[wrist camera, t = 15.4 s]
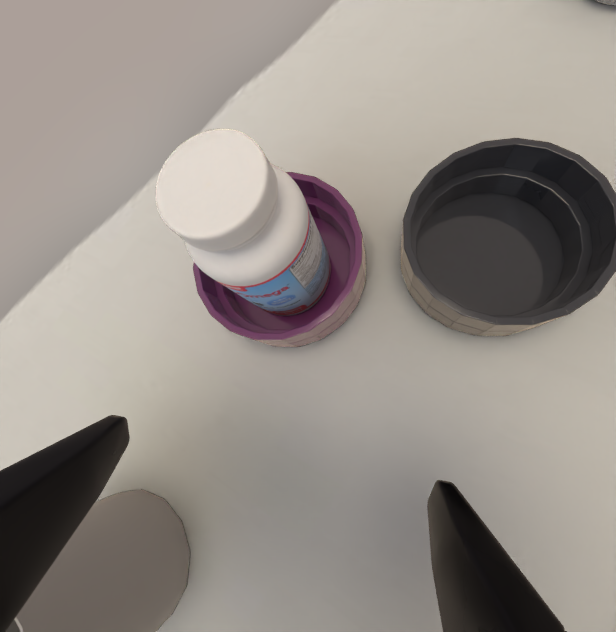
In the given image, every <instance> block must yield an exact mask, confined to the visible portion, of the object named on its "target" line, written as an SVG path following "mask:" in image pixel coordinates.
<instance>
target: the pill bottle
mask: <svg viewBox="0 0 616 632" xmlns="http://www.w3.org/2000/svg"><path fill="white" fill-rule="evenodd" d="M155 197H156V205H157V209H158V212H159V214H160V216H161V218H162V220H163V221H164V223H165V224H166V225H167V226H168V227H169V228H170V229H171V230H172V231H174V232H175V233H176V234H177V235H179V236H180V237H181V238H182V239H183V240H184V242H185V246H186V248H187V251H188V253H189V255H190V257H191V258H192V260H193V261H194V263H195V264H196V265H197V266H198V267H199V268H200V269H201V270H202V271H203V272H204V273H205V274H207V275H208V276H210V277H211V278H212V279H214V280H216V281H217V282H219V283H220V284H222V285H224V286H225V287H227V288H228V289H230V290H232V291H233V292H235V293H237V294H238V295H240V296H242V297H243V298H245V299H246V300H248V301H250V302H251V303H253V304H254V305H256V306H258V307H259V308H261V309H263V310H264V311H266V312H269V313H271V314H274V315H279V316H291V315H296V314H299V313H302V312H304V311H306V310H308V309H310V308H311V307H313V306H314V305H315V304H316V303H317V302H318V301H319V300H320V298H321V297H322V296H323V294H324V292H325V290H326V288H327V286H328V283H329V279H330V272H331V264H330V258H329V255H328V252H327V250H326V247H325V245H324V242H323V240H322V238H321V235H320V233H319V231H318V229H317V226H316V224H315V222H314V219H313V217H312V215H311V212H310V210H309V207H308V205H307V203H306V201H305V198H304V196H303V194H302V192H301V190H300V188H299V187H298V185H297V184H296V182H295V181H294V180H293V179H292V178H291V177H290V176H289V175H288V174H287V173H286V172H285V171H283V170H282V169H280V168H279V167H277V166H275V165H273V164H271V163H270V162H269V161H268V159H267V158H266V156H265V154H264V152H263V151H262V149H261V148H260V146H259V145H258V144H257V143H256V142H255V141H254V140H253V139H252V138H251V137H249V136H247V135H246V134H244V133H242V132H239V131H237V130H232V129H213V130H208V131H205V132H202V133H199V134H197V135H194V136H193V137H191V138H189V139H188V140H186V141H185V142H184V143H182V144H181V145H180V146H179V147H178V148H177V149H175V150H174V152H173V153H172V154H171V155H170V156H169V157H168V159H167V160H166V162H165V163H164V165H163V167H162V169H161V171H160V174H159V176H158V180H157V184H156V192H155Z"/></svg>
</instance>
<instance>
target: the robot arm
mask: <svg viewBox="0 0 616 632" xmlns="http://www.w3.org/2000/svg"><path fill="white" fill-rule="evenodd" d="M128 443H129V430H128V423H127V419H126V418H125V417H121V416H116V415H111V416H108V417H106V418H104V419H102V420H100V421H98V422H96V423H94V424H92V425H90V426H88V427H86V428H84V429H82V430H80V431H78V432H76V433H74V434H72V435H70V436H68V437H66V438H64V439H62V440H60V441H58V442H56V443H55V444H53V445H51V446H49V447H47V448H45V449H43V450H41V451H39V452H37V453H35V454H33V455H31V456H29V457H27V458H25V459H23V460H21V461H19V462H17V463H15V464H13V465H11V466H9V467H7V468H5V469H3V470H1V471H0V632H6V631H7V629H8V628H9V626H10V625H11V623H12V622H13V621H14V619H15V618H16V616H17V615H18V613H19V612H20V610H21V609H22V608H23V606H24V605H25V603H26V602H27V600H28V599H29V597H30V596H31V595H32V593H33V592H34V590H35V589H36V587H37V586H38V584H39V583H40V581H41V580H42V579H43V577H44V576H45V574H46V573H47V571H48V570H49V568H50V567H51V566H52V564H53V563H54V561H55V560H56V558H57V557H58V555H59V554H60V552H61V551H62V550H63V548H64V547H65V545H66V544H67V542H68V541H69V539H70V538H71V537H72V535H73V534H74V532H75V531H76V529H77V528H78V526H79V525H80V523H81V522H82V521H83V519H84V518H85V516H86V515H87V513H88V512H89V510H90V509H91V508H92V506H93V505H94V503H95V502H96V500H97V499H98V497H99V495H100V494H101V492H102V490H103V489H104V487H105V485H106V483H107V482H108V480H109V478H110V476H111V474H112V473H113V471H114V469H115V467H116V466H117V464H118V462H119V460H120V458H121V457H122V455H123V453H124V451H125V449H126V448H127V446H128ZM427 508H428V521H429V534H430V547H431V560H432V570H433V576H434V582H435V588H436V594H437V599H438V605H439V611H440V616H441V622H442V627H443V632H567V631H564V627H563V625H562V624H561V623H560V621H559V620H558V619H557V617H556V616H555V615H554V614H553V612H552V611H551V610H550V608H549V607H548V606H547V604H546V603H545V602H544V601H543V599H542V598H541V597H540V595H539V594H538V593H537V591H536V590H535V589H534V588H533V586H532V585H531V584H530V582H529V581H528V580H527V578H526V577H525V576H524V575H523V573H522V572H521V571H520V569H519V568H518V567H517V565H516V564H515V563H514V562H513V560H512V559H511V558H510V556H509V555H508V554H507V552H506V551H505V550H504V548H503V547H502V546H501V545H500V543H499V542H498V541H497V539H496V538H495V537H494V535H493V534H492V533H491V532H490V530H489V529H488V528H487V526H486V525H485V524H484V522H483V521H482V520H481V519H480V517H479V516H478V515H477V513H476V512H475V511H474V509H473V508H472V507H471V506H470V504H469V503H468V502H467V500H466V499H465V498H464V496H463V495H462V494H461V493H460V491H459V490H458V489H457V487H456V486H455V485H454V484H453V483H451V482H447V481H442V480H437V481H436V482H435V484H434V487H433V489H432V491H431V494H430V496H429V499H428V505H427Z"/></svg>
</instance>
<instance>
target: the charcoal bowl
mask: <svg viewBox="0 0 616 632" xmlns="http://www.w3.org/2000/svg"><path fill="white" fill-rule="evenodd" d="M400 249H401V272H402V275H403V278H404V280H405V283H406V286H407V288H408V291H409V292H410V295H411V296H412V297H413V298H414V299H415V301H416V302H417V303H418V304H419V306H420V307H421V308H422V309H423V310H424V312H426V313H427V314H428V315H430V316H431V317H433V318H434V319H436V320H437V321H439V322H440V323H442V324H443V325H445V326H446V327H449V328H451V329H455V330H458V331H461V332H465V333H468V334H472V335H477V336H508V335H511V334H515V333H518V332H522V331H525V330H528V329H532V328H535V327H537V326H540V325H543V324H545V323H548V322H551V321H553V320H556V319H558V318H561V317H564V316H566V315H568V314H570V313H572V312H573V311H575V310H576V309H578V308H579V307H581V306H582V305H584V304H585V303H587V302H588V301H590V300H591V299H593V298H594V297H596V296H597V295H598V294H599V293H600V292H601V291H602V289H603V288H604V287H605V285H606V284H607V283H608V281H609V280H610V278H611V277H612V276H613V274H614V273H615V272H616V193H615V191H614V190H613V188H612V186H611V185H610V183H609V181H608V180H607V178H606V177H605V176H604V175H603V174H602V173H601V172H600V171H598V170H597V169H596V168H595V167H594V166H592V165H591V164H590V163H589V162H588V161H586V160H585V159H584V158H583V157H582V156H580V155H578V154H576V153H573V152H571V151H568V150H566V149H564V148H561V147H559V146H557V145H554V144H552V143H549V142H543V141H535V140H528V139H521V138H511V139H502V140H493V141H485V142H481V143H479V144H476V145H473V146H471V147H468V148H466V149H463V150H460V151H458V152H455V153H453V154H452V155H450V156H449V157H448V158H446V159H445V160H444V161H442V162H441V163H439V164H438V165H437V166H435V167H434V168H433V169H431V170H430V171H429V172H428V173H427V175H426V176H425V177H424V179H423V180H422V181H421V183H420V184H419V185H418V187H417V188H416V189H415V190H414V192H413V193H412V195H411V198H410V201H409V204H408V207H407V210H406V213H405V216H404V219H403V227H402V238H401V248H400Z"/></svg>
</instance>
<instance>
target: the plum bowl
mask: <svg viewBox="0 0 616 632" xmlns="http://www.w3.org/2000/svg"><path fill="white" fill-rule="evenodd" d="M286 173H287V174H288V175H289V176H290V177H291V178H292V179H293V180H294V181H295V182H296V184H297V185H298V187H299V188H300V190H301V192H302V194H303V196H304V198H305V201H306V203H307V205H308V207H309V210H310V212H311V215H312V217H313V219H314V222H315V224H316V226H317V229H318V231H319V233H320V235H321V238H322V240H323V242H324V245H325V247H326V250H327V252H328V255H329V258H330V264H331V272H330V279H329V283H328V286H327V288H326V290H325V292H324V294H323V296H322V297H321V298H320V300H319V301H318V302H317V303H316V304H315V305H314V306H313V307H311V308H310V309H308V310H306V311H304V312H302V313H299V314H296V315H291V316H279V315H274V314H271V313H269V312H266V311H264V310H263V309H261V308H259V307H258V306H256V305H254V304H253V303H251V302H250V301H248V300H246V299H245V298H243V297H242V296H240V295H238V294H237V293H235V292H233V291H232V290H230V289H228V288H227V287H225V286H224V285H222V284H220V283H219V282H217V281H216V280H214V279H212V278H211V277H210V276H208V275H207V274H205V273H204V272H203V271H202V270H201V269H200V268H199V267H198V266H197V265H196V264H195V263H194V265H193V271H194V276H195V281H196V286H197V291H198V294H199V296H200V298H201V299H202V301H203V303H204V305H205V306H206V308H207V310H208V312H209V313H210V314H211V316H212V317H214V318H215V319H216V320H217V321H218V322H220V323H221V324H222V325H223V326H224V327H226V328H227V329H228V330H229V331H231V332H234V333H237V334H240V335H242V336H245V337H248V338H251V339H253V340H256V341H259V342H262V343H265V344H268V345H271V346H275V347H300V346H303V345H306V344H309V343H312V342H315V341H319V340H321V339H323V338H324V337H326V336H327V335H329V334H330V333H331V332H333V331H334V330H336V329H337V328H339V327H340V326H341V325H343V324H344V322H345V321H346V320H347V318H348V317H349V316H350V314H351V313H352V312H353V310H354V309H355V308H356V306H357V304H358V303H359V300H360V297H361V294H362V291H363V288H364V285H365V282H366V255H365V249H364V243H363V237H362V232H361V229H360V227H359V224H358V221H357V218H356V215H355V212H354V210H353V208H352V207H351V206H350V204H349V203H348V202H347V201H346V200H345V198H344V197H343V196H342V195H341V194H340V192H339V191H338V190H337V189H335V188H334V187H332V186H330V185H328V184H327V183H325V182H323V181H322V180H320V179H318V178H316V177H314V176H309V175H303V174H298V173H293V172H286Z"/></svg>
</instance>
